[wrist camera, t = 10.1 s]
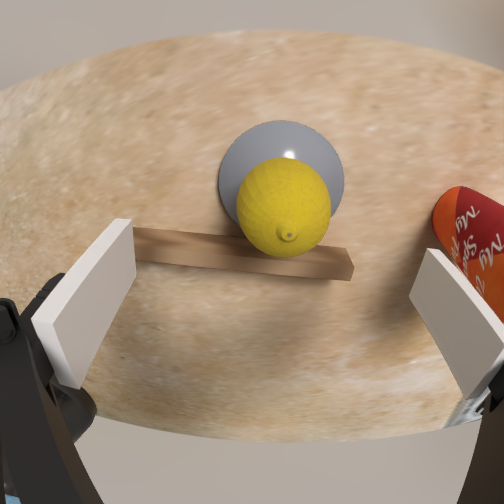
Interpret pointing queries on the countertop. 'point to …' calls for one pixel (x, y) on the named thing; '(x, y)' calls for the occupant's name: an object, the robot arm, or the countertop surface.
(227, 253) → the divider
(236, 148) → the coaster
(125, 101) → the countertop surface
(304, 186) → the lemon
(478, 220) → the paper cup
